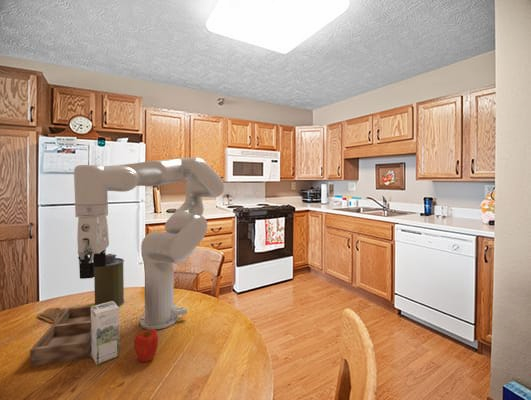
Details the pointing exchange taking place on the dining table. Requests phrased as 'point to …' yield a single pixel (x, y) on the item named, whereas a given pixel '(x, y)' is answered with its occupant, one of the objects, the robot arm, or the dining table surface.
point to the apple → (146, 345)
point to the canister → (109, 281)
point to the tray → (65, 338)
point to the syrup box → (104, 332)
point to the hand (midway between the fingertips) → (93, 271)
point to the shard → (51, 314)
